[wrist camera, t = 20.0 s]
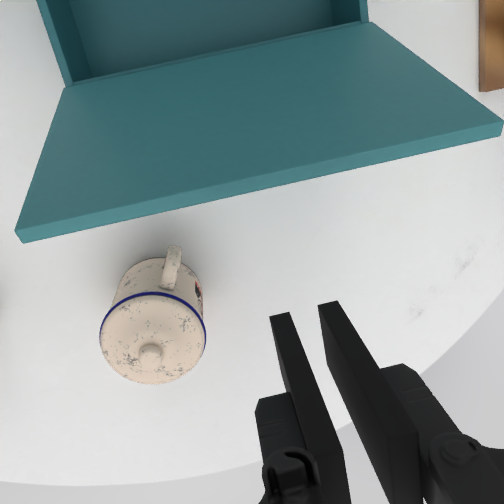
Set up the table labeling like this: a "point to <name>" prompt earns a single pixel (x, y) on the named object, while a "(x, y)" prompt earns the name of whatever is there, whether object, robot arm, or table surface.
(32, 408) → the table surface
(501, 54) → the plate
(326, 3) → the teal lidded box
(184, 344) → the teacup with lid
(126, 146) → the lid
